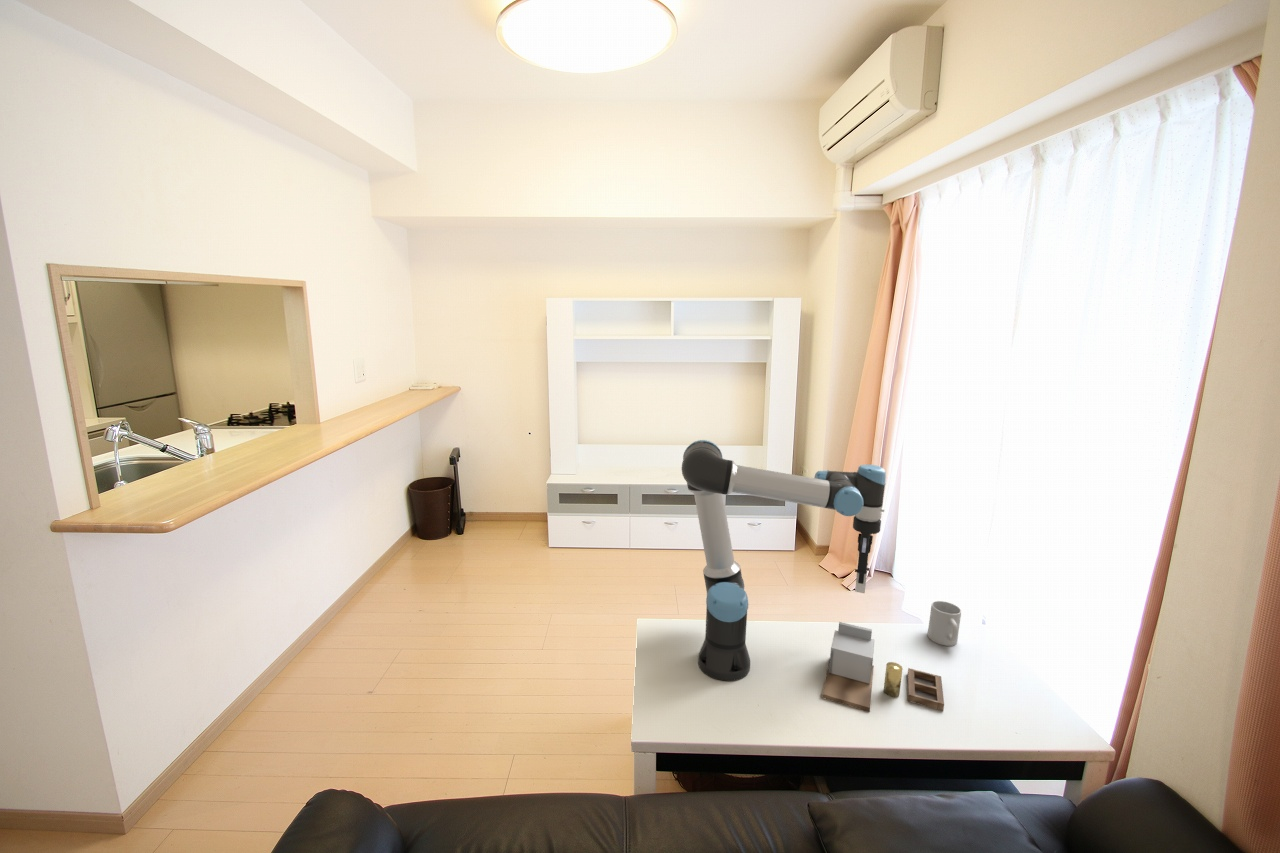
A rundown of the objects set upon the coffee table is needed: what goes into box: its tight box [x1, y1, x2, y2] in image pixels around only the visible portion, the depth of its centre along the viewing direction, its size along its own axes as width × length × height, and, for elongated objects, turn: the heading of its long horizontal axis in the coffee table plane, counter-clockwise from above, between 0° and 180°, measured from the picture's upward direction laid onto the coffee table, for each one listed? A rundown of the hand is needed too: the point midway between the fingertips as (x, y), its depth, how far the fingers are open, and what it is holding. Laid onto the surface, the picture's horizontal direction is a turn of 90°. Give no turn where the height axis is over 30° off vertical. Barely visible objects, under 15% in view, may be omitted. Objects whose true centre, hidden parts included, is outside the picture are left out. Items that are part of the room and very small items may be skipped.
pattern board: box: [821, 660, 875, 713], centre depth 154 cm, size 12×20×5 cm, turn 155°
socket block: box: [907, 667, 945, 712], centre depth 151 cm, size 8×13×2 cm, turn 155°
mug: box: [927, 600, 962, 647], centre depth 175 cm, size 12×8×11 cm
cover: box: [828, 621, 876, 684], centre depth 158 cm, size 11×10×11 cm
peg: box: [882, 661, 904, 699], centre depth 150 cm, size 4×4×8 cm
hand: (860, 591), depth 166 cm, fingers closed
